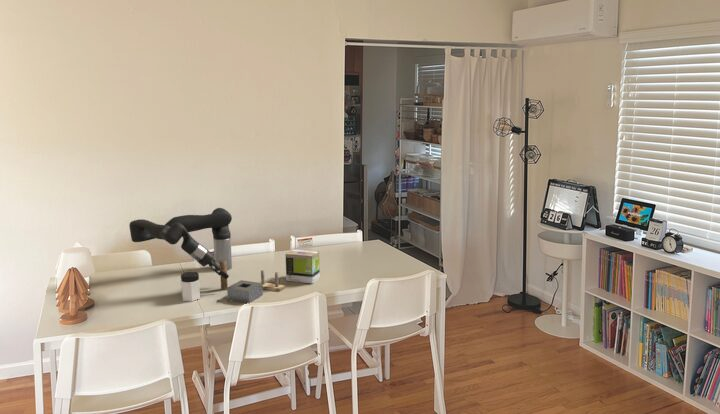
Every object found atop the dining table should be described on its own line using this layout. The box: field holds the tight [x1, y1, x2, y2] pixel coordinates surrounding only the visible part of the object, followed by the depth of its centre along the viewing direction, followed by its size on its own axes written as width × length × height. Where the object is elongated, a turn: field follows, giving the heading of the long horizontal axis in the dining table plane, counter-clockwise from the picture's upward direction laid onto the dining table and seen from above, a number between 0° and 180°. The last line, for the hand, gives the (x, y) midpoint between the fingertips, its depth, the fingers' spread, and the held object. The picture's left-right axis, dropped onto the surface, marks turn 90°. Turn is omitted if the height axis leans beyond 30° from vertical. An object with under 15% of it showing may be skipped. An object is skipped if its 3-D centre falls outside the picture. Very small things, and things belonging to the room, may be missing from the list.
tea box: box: [285, 248, 321, 284], centre depth 319 cm, size 15×10×15 cm
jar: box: [180, 271, 201, 302], centre depth 292 cm, size 9×8×12 cm
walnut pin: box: [219, 261, 229, 291], centre depth 305 cm, size 3×3×14 cm
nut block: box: [226, 279, 264, 304], centre depth 294 cm, size 12×12×6 cm
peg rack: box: [259, 269, 286, 292], centre depth 307 cm, size 14×5×8 cm, turn 68°
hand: (226, 275), depth 305 cm, fingers open, 8 cm apart
